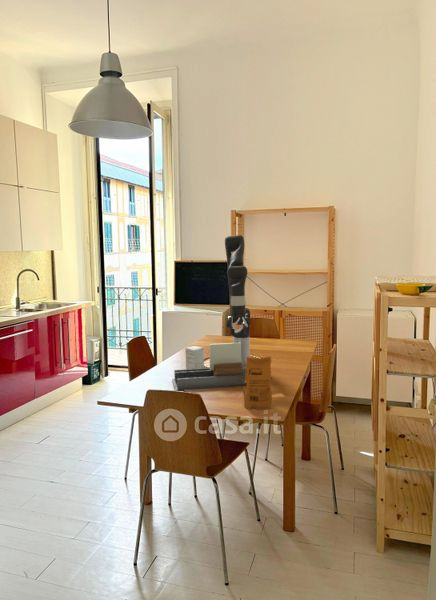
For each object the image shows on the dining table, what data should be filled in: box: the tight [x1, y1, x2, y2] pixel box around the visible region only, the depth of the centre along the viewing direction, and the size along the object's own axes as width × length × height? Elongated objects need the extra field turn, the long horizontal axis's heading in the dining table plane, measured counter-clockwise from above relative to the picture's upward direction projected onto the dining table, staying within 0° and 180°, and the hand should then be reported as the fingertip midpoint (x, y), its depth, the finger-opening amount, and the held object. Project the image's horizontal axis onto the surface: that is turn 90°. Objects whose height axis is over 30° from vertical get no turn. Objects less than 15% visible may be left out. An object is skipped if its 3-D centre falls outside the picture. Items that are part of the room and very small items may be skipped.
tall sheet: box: [209, 342, 241, 370], centre depth 245 cm, size 2×16×18 cm, turn 100°
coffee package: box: [242, 356, 273, 410], centre depth 209 cm, size 10×12×22 cm
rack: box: [171, 366, 246, 392], centre depth 239 cm, size 19×38×6 cm, turn 100°
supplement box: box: [185, 345, 205, 369], centre depth 265 cm, size 7×7×13 cm
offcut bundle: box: [213, 362, 243, 376], centre depth 238 cm, size 6×14×9 cm, turn 100°
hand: (239, 334), depth 252 cm, fingers open, 8 cm apart
